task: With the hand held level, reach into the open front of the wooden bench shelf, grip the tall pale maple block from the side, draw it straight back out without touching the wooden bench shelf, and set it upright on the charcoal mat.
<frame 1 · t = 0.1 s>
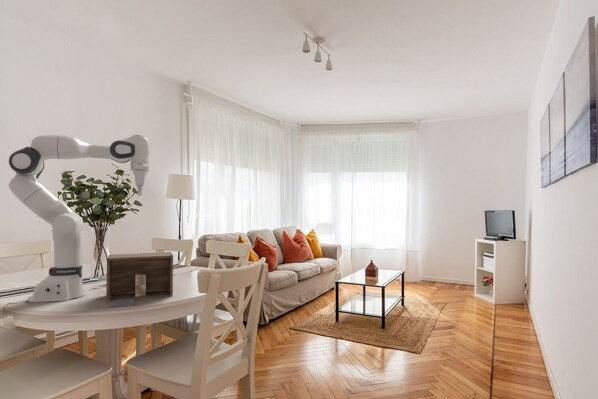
hand: (139, 195, 192), 48 cm above the table, tool pointing down, fingers open, 8 cm apart
wooden bench shelf: (140, 295, 181), on the table
mat: (121, 303, 165), on the table
block: (140, 295, 182), resting in wooden bench shelf
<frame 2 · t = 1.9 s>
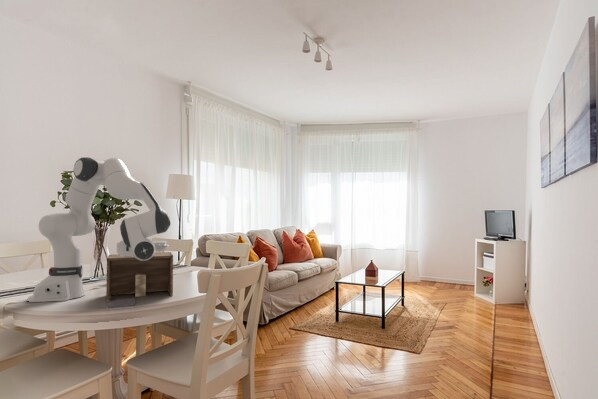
hand: (141, 245, 171), 25 cm above the table, tool horizontal, fingers open, 8 cm apart
nothing on the table moved.
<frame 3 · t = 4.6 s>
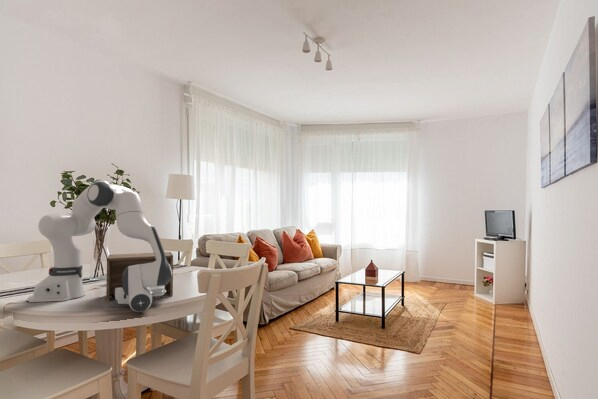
hand: (140, 287, 172), 5 cm above the table, tool horizontal, fingers open, 8 cm apart
nothing on the table moved.
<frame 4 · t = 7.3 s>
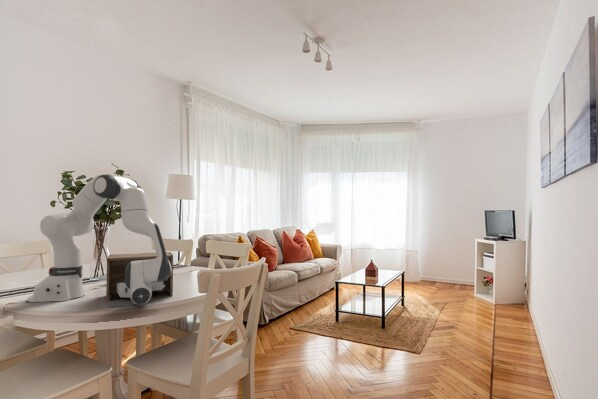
hand: (140, 283, 183), 6 cm above the table, tool horizontal, fingers closed on block, 4 cm apart
block: (140, 295, 182), resting in wooden bench shelf, touching gripper
everything else where it was.
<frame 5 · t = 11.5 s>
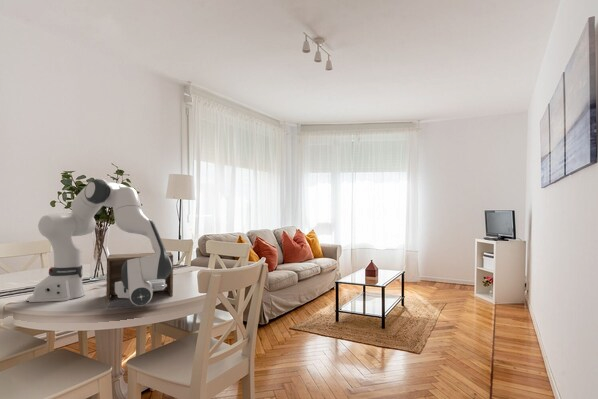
hand: (140, 282, 170), 8 cm above the table, tool horizontal, fingers closed on block, 4 cm apart
block: (140, 295, 169), point 3 cm above the table, touching gripper
everything else where it was.
when the fingers open (7 cm above the table, at t = 16.1 s): block drops 1 cm, resting on mat.
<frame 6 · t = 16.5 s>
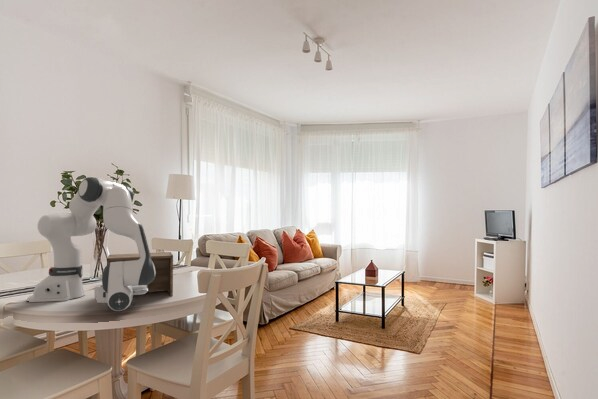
hand: (122, 286, 166), 7 cm above the table, tool horizontal, fingers open, 8 cm apart
block: (121, 302, 165), point 1 cm above the table, touching mat
everything else where it was.
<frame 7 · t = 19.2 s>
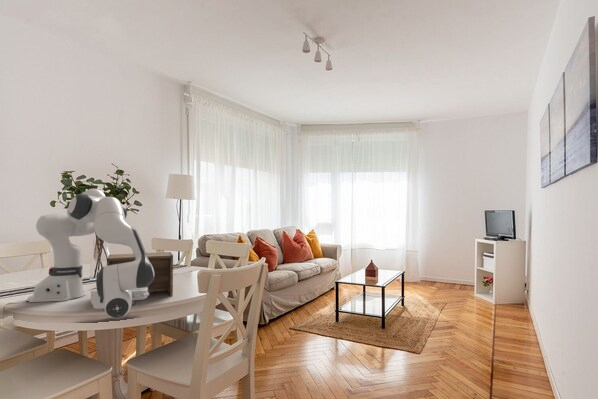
hand: (121, 290, 154), 8 cm above the table, tool horizontal, fingers open, 8 cm apart
nothing on the table moved.
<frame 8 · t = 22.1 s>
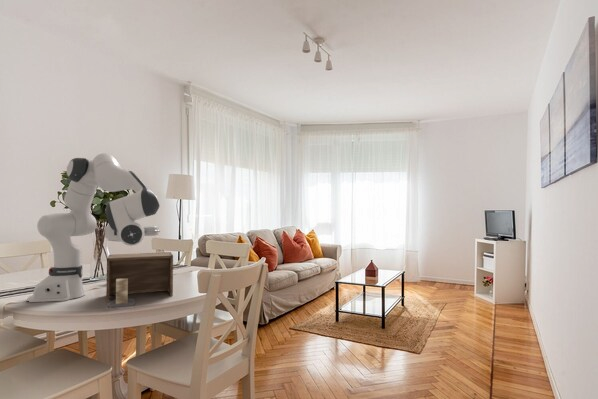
hand: (132, 230, 162), 32 cm above the table, tool horizontal, fingers open, 8 cm apart
nothing on the table moved.
at the end: block inside the target area on the mat (0.0 cm from its centre), point 0.6 cm above the mat's base; block tilted 0°; the gripper is holding nothing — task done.
